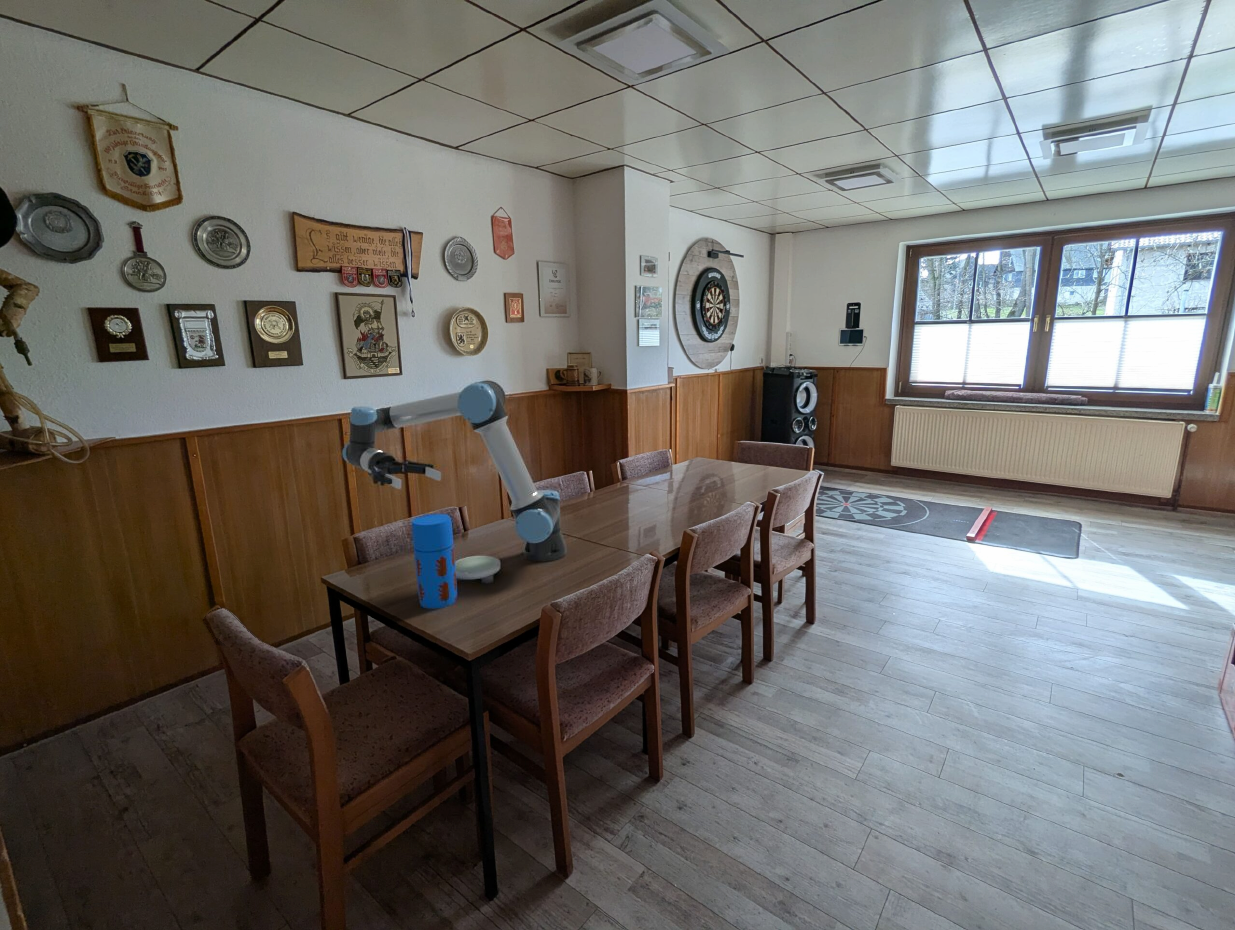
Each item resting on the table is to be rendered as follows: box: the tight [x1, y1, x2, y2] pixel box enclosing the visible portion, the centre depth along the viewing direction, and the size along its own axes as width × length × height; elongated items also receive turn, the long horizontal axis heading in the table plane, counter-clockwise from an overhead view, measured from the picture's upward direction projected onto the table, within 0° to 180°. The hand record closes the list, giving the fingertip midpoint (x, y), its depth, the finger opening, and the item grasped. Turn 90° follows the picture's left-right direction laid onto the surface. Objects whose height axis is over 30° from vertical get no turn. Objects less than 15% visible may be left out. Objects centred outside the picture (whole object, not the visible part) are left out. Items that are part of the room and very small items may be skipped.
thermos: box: [411, 513, 458, 610], centre depth 165 cm, size 11×11×25 cm
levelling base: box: [455, 555, 501, 584], centre depth 184 cm, size 16×16×4 cm
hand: (420, 480), depth 168 cm, fingers open, 13 cm apart
